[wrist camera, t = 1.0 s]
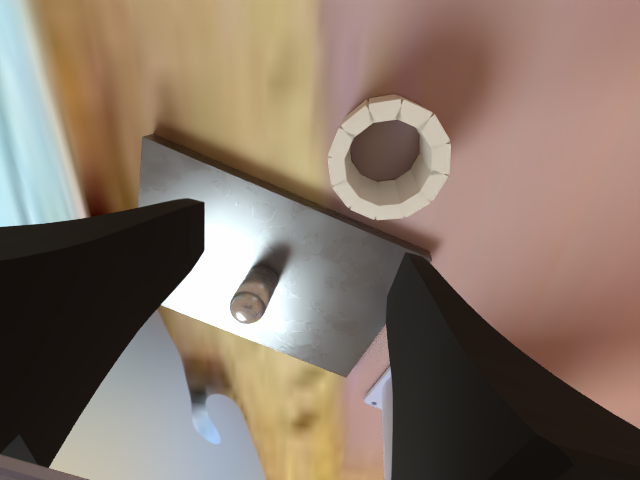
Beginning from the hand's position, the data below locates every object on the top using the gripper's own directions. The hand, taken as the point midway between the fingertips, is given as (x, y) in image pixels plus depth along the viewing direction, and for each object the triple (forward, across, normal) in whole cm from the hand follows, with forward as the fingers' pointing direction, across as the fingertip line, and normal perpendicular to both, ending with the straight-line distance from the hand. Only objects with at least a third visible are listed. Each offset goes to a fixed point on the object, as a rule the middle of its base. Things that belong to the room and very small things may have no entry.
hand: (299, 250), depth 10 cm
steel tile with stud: (+10, +3, +9) cm, 13 cm away
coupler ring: (+10, -3, -2) cm, 10 cm away
